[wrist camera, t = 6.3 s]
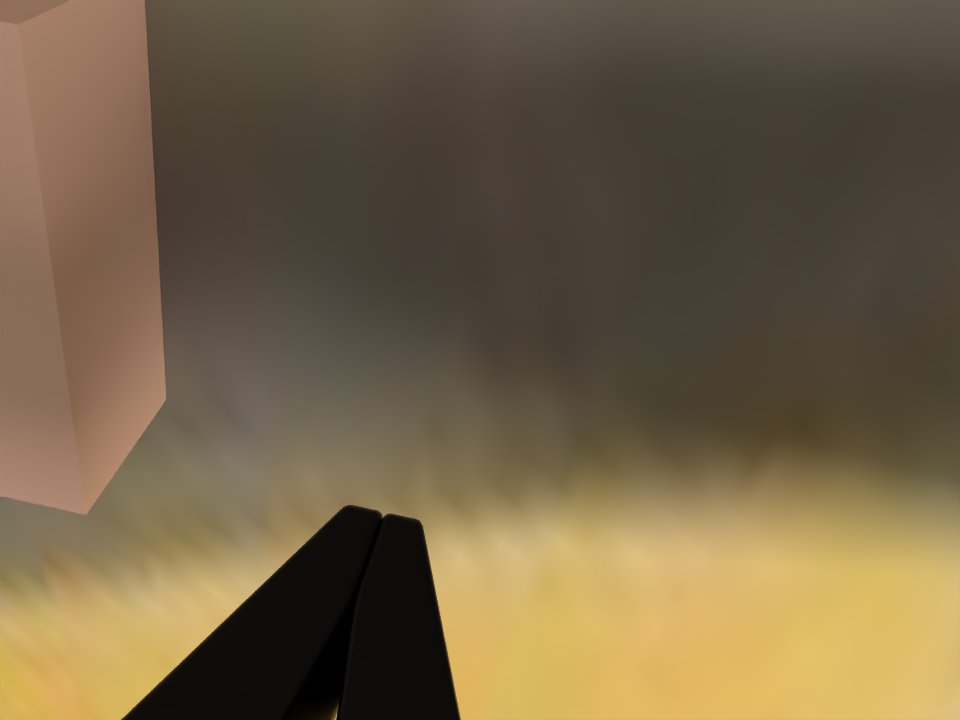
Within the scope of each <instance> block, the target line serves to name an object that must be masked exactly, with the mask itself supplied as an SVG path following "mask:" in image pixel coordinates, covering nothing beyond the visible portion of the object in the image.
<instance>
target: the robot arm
mask: <svg viewBox="0 0 960 720" xmlns="http://www.w3.org/2000/svg"><path fill="white" fill-rule="evenodd" d="M336 714H337V719H336V720H461V718H460V713H459V708H458V703H457V698H456V693H455V688H454V683H453V678H452V672H451V667H450V662H449V657H448V652H447V647H446V642H445V637H444V632H443V627H442V622H441V616H440V611H439V606H438V601H437V596H436V591H435V586H434V581H433V576H432V571H431V566H430V560H429V555H428V550H427V545H426V540H425V535H424V530H423V526H422V524H421V522H420V521H419V520H417V519H413V518H409V517H404V516H400V515H395V514H386V515H385V516H384V517H383V516H382V514H381V513H380V512H379V511H377V510H372V509H368V508H363V507H359V506H354V505H348V506H345V507H343V508H342V509H341V510H340V511H339V512H338V513H336V514H335V515H334V516H333V517H332V518H331V519H330V520H329V521H328V522H327V523H326V524H325V525H324V526H323V527H322V528H321V529H320V530H319V531H318V532H317V533H316V534H315V535H314V536H312V537H311V538H310V539H309V540H308V541H307V542H306V543H305V544H304V545H303V546H302V547H301V548H300V549H299V550H298V551H297V552H296V553H295V554H294V555H293V556H292V557H291V558H289V559H288V560H287V561H286V562H285V563H284V564H283V565H282V566H281V567H280V568H279V569H278V570H277V571H276V572H275V573H274V574H273V575H272V576H271V577H270V578H269V579H268V580H267V581H265V582H264V583H263V584H262V585H261V586H260V587H259V588H258V589H257V590H256V591H255V592H254V593H253V594H252V595H251V596H250V597H249V598H248V599H247V600H246V601H245V602H244V603H243V604H241V605H240V606H239V607H238V608H237V609H236V610H235V611H234V612H233V613H232V614H231V615H230V616H229V617H228V618H227V619H226V620H225V621H224V622H223V623H222V624H221V625H220V626H218V627H217V628H216V629H215V630H214V631H213V632H212V633H211V634H210V635H209V636H208V637H207V638H206V639H205V640H204V641H203V642H202V643H201V644H200V645H199V646H198V647H197V648H196V649H194V650H193V651H192V652H191V653H190V654H189V655H188V656H187V657H186V658H185V659H184V660H183V661H182V662H181V663H180V664H179V665H178V666H177V667H176V668H175V669H174V670H173V671H172V672H170V673H169V674H168V675H167V676H166V677H165V678H164V679H163V680H162V681H161V682H160V683H159V684H158V685H157V686H156V687H155V688H154V689H153V690H152V691H151V692H150V693H149V694H147V695H146V696H145V697H144V698H143V699H142V700H141V701H140V702H139V703H138V704H137V705H136V706H135V707H134V708H133V709H132V710H131V711H130V712H129V713H128V714H127V715H126V716H125V717H123V718H122V719H121V720H335V717H336Z"/></svg>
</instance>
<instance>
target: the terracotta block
mask: <svg viewBox="0 0 960 720" xmlns="http://www.w3.org/2000/svg"><path fill="white" fill-rule="evenodd" d="M165 401H166V383H165V365H164V346H163V328H162V309H161V291H160V272H159V254H158V235H157V216H156V198H155V179H154V161H153V142H152V124H151V105H150V87H149V68H148V50H147V31H146V13H145V0H0V496H3V497H7V498H12V499H16V500H21V501H25V502H30V503H35V504H39V505H44V506H48V507H53V508H57V509H62V510H66V511H71V512H75V513H80V514H85V515H86V514H87V513H88V511H89V510H90V509H91V507H92V506H93V504H94V503H95V501H96V500H97V498H98V497H99V496H100V494H101V493H102V491H103V490H104V488H105V487H106V486H107V484H108V483H109V481H110V480H111V478H112V477H113V475H114V474H115V473H116V471H117V470H118V468H119V467H120V465H121V464H122V463H123V461H124V460H125V458H126V457H127V455H128V454H129V452H130V451H131V450H132V448H133V447H134V445H135V444H136V442H137V441H138V440H139V438H140V437H141V435H142V434H143V432H144V431H145V429H146V428H147V427H148V425H149V424H150V422H151V421H152V419H153V418H154V417H155V415H156V414H157V412H158V411H159V409H160V408H161V406H162V405H163V404H164V402H165Z"/></svg>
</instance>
